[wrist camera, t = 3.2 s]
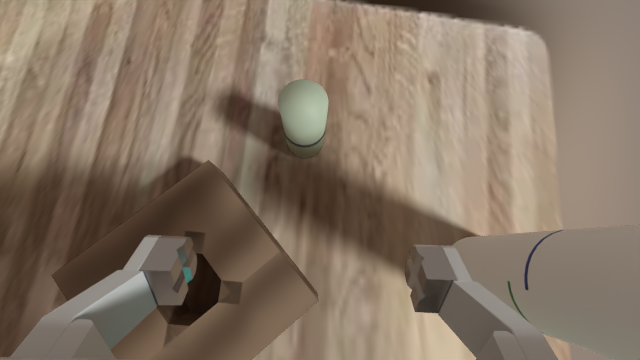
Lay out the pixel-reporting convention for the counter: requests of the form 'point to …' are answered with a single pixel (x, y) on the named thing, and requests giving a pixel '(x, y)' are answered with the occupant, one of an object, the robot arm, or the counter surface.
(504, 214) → the counter surface
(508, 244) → the cylindrical container
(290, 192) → the counter surface
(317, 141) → the peg
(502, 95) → the counter surface
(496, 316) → the robot arm
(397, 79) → the counter surface
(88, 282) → the socket block
